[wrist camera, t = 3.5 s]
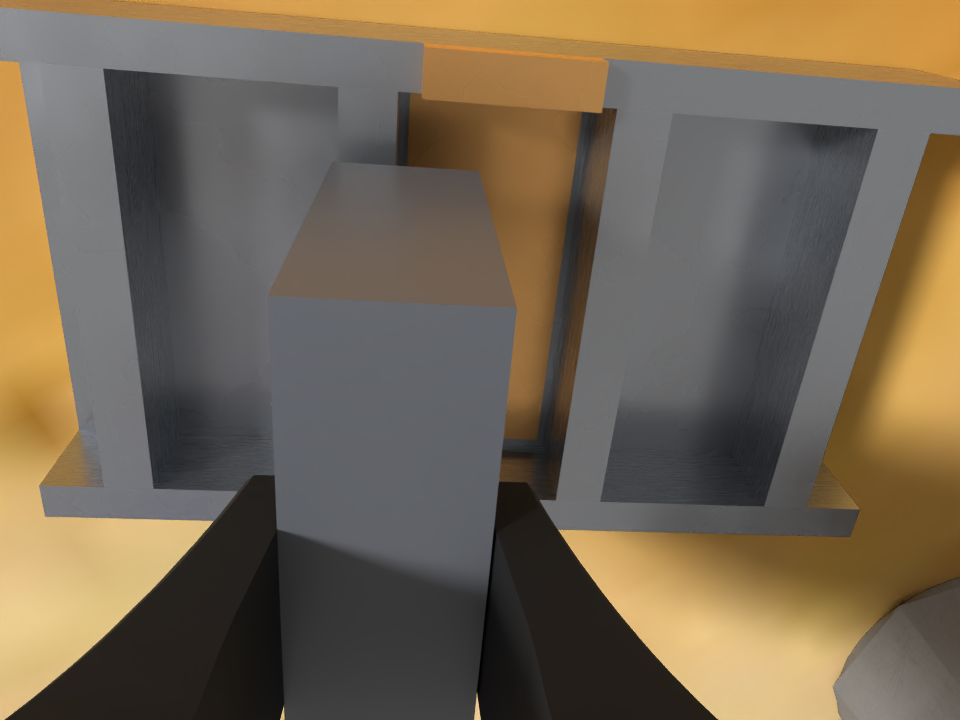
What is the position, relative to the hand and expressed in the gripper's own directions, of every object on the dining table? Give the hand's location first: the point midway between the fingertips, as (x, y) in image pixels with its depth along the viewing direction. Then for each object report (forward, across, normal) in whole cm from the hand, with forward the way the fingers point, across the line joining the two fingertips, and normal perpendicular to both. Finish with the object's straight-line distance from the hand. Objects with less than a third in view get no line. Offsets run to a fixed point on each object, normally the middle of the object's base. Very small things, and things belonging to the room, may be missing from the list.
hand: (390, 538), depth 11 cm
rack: (+9, -2, -1) cm, 9 cm away
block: (+4, 0, 0) cm, 5 cm away
